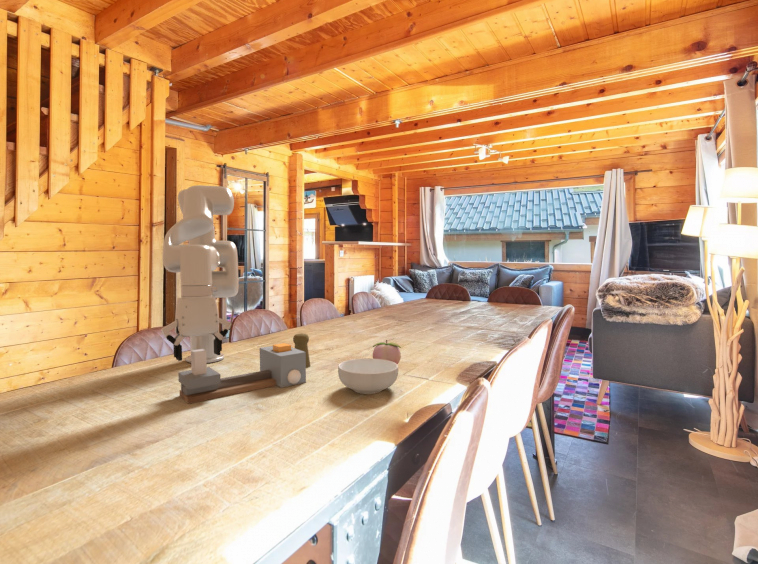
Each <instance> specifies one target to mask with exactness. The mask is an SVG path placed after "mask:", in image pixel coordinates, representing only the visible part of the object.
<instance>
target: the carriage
mask: <svg viewBox="0 0 758 564" xmlns="http://www.w3.org/2000/svg"><path fill="white" fill-rule="evenodd" d="M190 355H191V363H190V364H191V365H190V367H191V369H189V370H183V371H178V382H179V383H180V390H181V391H183V388H182V386H183V385H184V386H185V394H186V395H191V394H196V393H201V392H206V391H211V390H216V389H218V384H220V383H221V373H220V372H218V371H216V370H215V369H213V368H212V367H210V366H208V367H207V365H208V363H207V360H206V350H204V349H199V350H191V349H190Z"/></svg>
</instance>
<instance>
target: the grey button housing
mask: <svg viewBox="0 0 758 564" xmlns="http://www.w3.org/2000/svg"><path fill="white" fill-rule="evenodd" d="M264 370H270V371H271V374H272V378H273V379H275V380H276V385H275V386H277V387H279V388H281V389H282V388H286V387H290V386H291V387H292V386H295V385H300V384H304V383H307V368H306V352H304V351H301V350H298V349H295V347H292V346H291V351H286V352H279V353H278V352H275V351H273V345H271V346H265V347H264V346H263V347H259V371H264Z"/></svg>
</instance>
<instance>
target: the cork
mask: <svg viewBox="0 0 758 564" xmlns="http://www.w3.org/2000/svg"><path fill="white" fill-rule="evenodd" d="M292 340H293V343H294V348H295V349H298V350H301V351H304V352H306V369H307V368H311V360H310V352H309V346H308V343H309V340H310V336H309V335H308V333H300V332H299V333H296V334H294V335H293V337H292Z"/></svg>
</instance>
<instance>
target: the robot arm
mask: <svg viewBox="0 0 758 564" xmlns="http://www.w3.org/2000/svg"><path fill="white" fill-rule="evenodd" d="M177 201H178V202H177V203H178V205H179V208H180V212H181V213H182V219H180V220H179V221H177V222H176V223H175V224H174V225H173V226H171V227H170V228H169V229H168V231H167V232H166V234H165V235H164V239H163V247H162V248H163V249H162V264H163V266H164V268H165V270H166V271H168V272H169V273H179V274H180V297H177V300H176V306H175V318H174V321H172V322H171V323H169V324H167V325H165V326H164V327H162V328H161V329H160V331H161V332H162V335H163V336H164V338H165V339H166V340H167V341H168V342H170V344H172V345H173V357H174V358H176V359H175V360H177V361H178V362H181V361H182V360H183V346H182V345H181V343H182V341H183V340H184V338H189V340H190V351H191V350H199V349H204V350H206V360H207V364H209V363H215V362H219V361H221V360H222V361H223V359H224V358H225V355H224V353H222V351H223V340H224V338H225V336H226V335H227V334H229V333H228V332H229V330H230V329H231V326H232V322H230V321H228V320H226V319H223V318H221V317H219V309H218V305H217V301H216V300H217V298H219V299H220V298H222V299H223V298H232V297H236V296H237V294H238V293H239V287H240V286H239V282H240V281H239V257H238V249H237V246H236V244H235V243H234V242H233V241H230V240H217V239H216V234H215V233H216V230H215V225H214V216H215V215H217V216H230V215H231V214H232V213H233V210H234V207H235V198H234V194H233V192H232V190H231V189H230V188H229V187H227V186H220V185H219V186H218V185H202V184H201V185H198V184H197V185H192V186H189V187H188V188H185V189H182V190H180V191H179V192H178V194H177ZM187 241H188V244H182V243H184V242H187ZM217 268H223V269H224V270H216V269H217ZM220 324H221V325H223V328H222V329H221V330H220ZM173 329H174V331H175V334H176V335H175V336H174V337H173V336H172V334H171V333H170V331H172V330H173ZM185 361H186V362H187V363H189V364H191V354H190V355H188V356H186V357H185Z"/></svg>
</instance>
